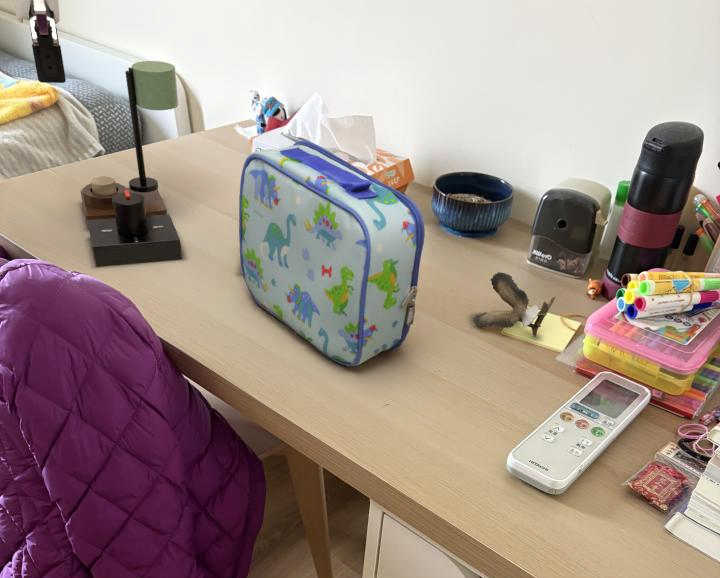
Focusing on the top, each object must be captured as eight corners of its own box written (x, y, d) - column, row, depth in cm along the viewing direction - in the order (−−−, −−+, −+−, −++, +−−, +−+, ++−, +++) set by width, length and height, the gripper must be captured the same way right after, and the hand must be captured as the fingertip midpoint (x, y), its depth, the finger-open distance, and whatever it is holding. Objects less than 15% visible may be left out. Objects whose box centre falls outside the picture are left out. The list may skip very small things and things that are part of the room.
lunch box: (420, 359, 90) (446, 191, 76) (355, 387, 84) (370, 212, 70) (297, 275, 104) (300, 120, 89) (234, 295, 98) (226, 133, 84)
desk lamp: (132, 195, 110) (114, 72, 99) (127, 181, 114) (109, 61, 103) (188, 192, 113) (178, 71, 101) (182, 177, 117) (171, 60, 105)
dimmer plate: (96, 266, 101) (92, 245, 99) (90, 239, 107) (86, 218, 105) (181, 259, 105) (179, 238, 103) (171, 233, 111) (169, 213, 109)
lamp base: (88, 229, 109) (83, 203, 107) (82, 203, 116) (78, 178, 113) (167, 223, 113) (165, 198, 110) (158, 199, 120) (155, 174, 117)
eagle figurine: (548, 311, 99) (489, 284, 100) (561, 286, 92) (498, 256, 93) (525, 356, 97) (465, 328, 99) (537, 334, 90) (473, 304, 92)
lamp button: (93, 197, 110) (91, 185, 108) (91, 188, 112) (89, 176, 111) (118, 195, 111) (116, 184, 110) (115, 186, 113) (113, 175, 112)
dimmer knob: (150, 234, 103) (146, 201, 100) (118, 236, 102) (113, 203, 98) (146, 221, 106) (142, 189, 103) (115, 223, 105) (110, 191, 101)
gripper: (-14, -111, 85) (17, 52, 96) (-17, -93, 73) (20, 90, 85) (53, -105, 87) (76, 54, 99) (61, -86, 76) (86, 91, 87)
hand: (50, 71), depth 92 cm, fingers open, 9 cm apart
